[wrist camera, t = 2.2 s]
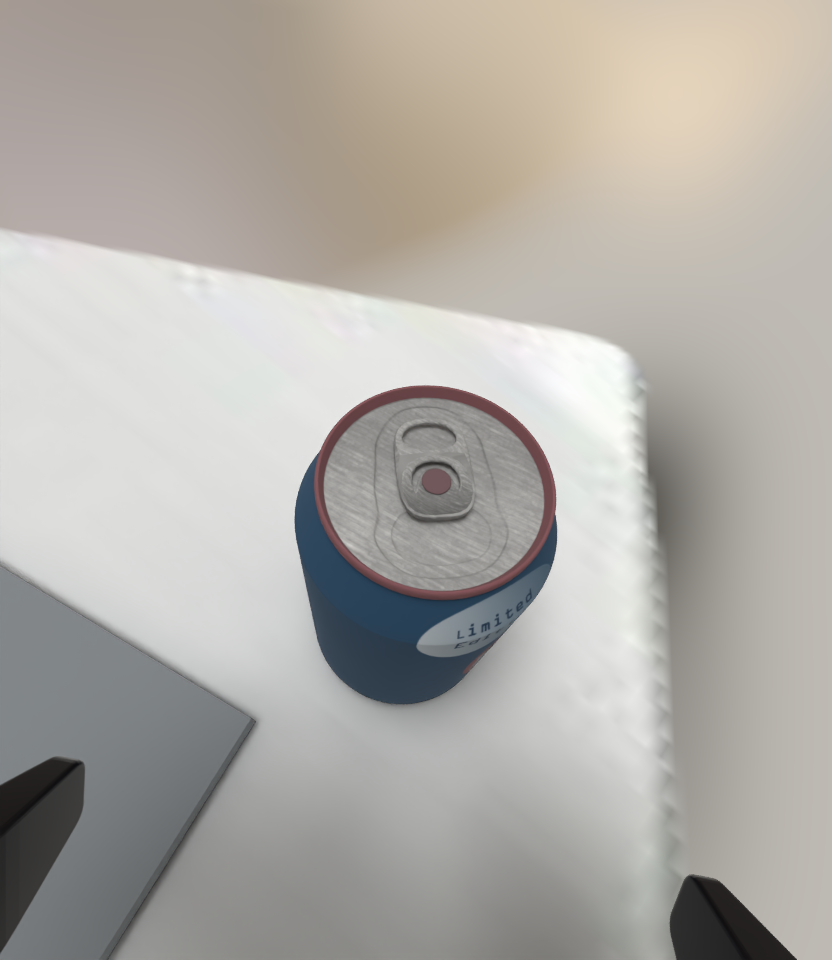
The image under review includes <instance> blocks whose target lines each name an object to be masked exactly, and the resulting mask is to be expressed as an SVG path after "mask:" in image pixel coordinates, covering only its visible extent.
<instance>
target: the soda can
mask: <svg viewBox="0 0 832 960" xmlns="http://www.w3.org/2000/svg"><path fill="white" fill-rule="evenodd" d="M555 510H556V489H555V483H554V478H553V475H552V471H551V468H550V465H549V463H548V461H547V458H546V456H545V454H544V452H543V450H542V449H541V447H540V446H539V444H538V442H537V441H536V440H535V438H534V437H533V436H532V434H531V433H530V432H529V431H528V430H527V429H526V428H525V427H524V425H523V424H521V423H520V422H519V421H518V420H517V419H516V418H515V417H514V416H512V415H511V414H510V413H508V412H507V411H506V410H504V409H503V408H501V407H499V406H498V405H496V404H494V403H493V402H491V401H489V400H487V399H485V398H482V397H480V396H478V395H475V394H472V393H469V392H466V391H463V390H459V389H454V388H449V387H442V386H410V387H403V388H397V389H393V390H390V391H386V392H383V393H381V394H378V395H375V396H373V397H371V398H369V399H367V400H365V401H364V402H362V403H360V404H359V405H357V406H356V407H354V408H353V409H352V410H350V411H349V412H348V413H347V414H346V415H345V416H343V417H342V418H341V419H340V420H339V422H338V423H337V424H336V425H335V426H334V427H333V429H332V430H331V431H330V433H329V435H328V436H327V438H326V440H325V442H324V443H323V445H322V448H321V450H320V452H319V453H318V454H317V456H316V457H315V458H314V460H313V461H312V463H311V464H310V466H309V468H308V470H307V471H306V473H305V475H304V478H303V480H302V483H301V486H300V489H299V492H298V496H297V500H296V507H295V533H296V540H297V545H298V549H299V554H300V559H301V564H302V568H303V573H304V578H305V582H306V587H307V592H308V597H309V601H310V606H311V611H312V616H313V620H314V625H315V630H316V634H317V639H318V642H319V646H320V648H321V651H322V653H323V655H324V657H325V659H326V661H327V662H328V664H329V666H330V667H331V668H332V670H333V671H334V672H335V673H336V675H337V676H338V677H339V678H340V679H341V680H342V681H343V682H344V683H346V684H347V685H348V686H349V687H351V688H352V689H354V690H355V691H357V692H359V693H360V694H362V695H364V696H366V697H369V698H371V699H374V700H377V701H381V702H386V703H392V704H412V703H418V702H422V701H426V700H429V699H432V698H434V697H437V696H439V695H441V694H443V693H445V692H446V691H448V690H449V689H451V688H452V687H453V686H455V685H456V684H457V683H458V682H459V681H460V680H462V678H463V677H464V676H465V675H466V674H467V673H468V672H469V671H470V670H471V669H472V668H473V666H474V665H475V664H476V663H477V662H478V661H479V660H480V659H481V658H482V657H483V655H484V654H485V653H486V652H487V651H488V650H489V649H490V648H491V647H492V646H493V644H494V643H495V642H496V641H497V640H498V639H499V638H500V637H501V636H502V635H503V633H504V632H505V631H506V630H507V629H508V628H509V627H510V626H511V625H512V624H513V622H514V621H515V620H516V619H517V618H518V617H519V616H520V615H521V614H522V613H523V612H524V610H525V609H526V608H527V607H528V606H529V605H530V604H531V603H532V601H533V600H534V599H535V598H536V596H537V595H538V593H539V592H540V590H541V589H542V587H543V585H544V583H545V581H546V579H547V577H548V575H549V572H550V570H551V567H552V564H553V561H554V556H555V552H556V545H557V523H556V516H555Z"/></svg>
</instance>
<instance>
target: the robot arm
mask: <svg viewBox="0 0 832 960" xmlns="http://www.w3.org/2000/svg"><path fill="white" fill-rule="evenodd" d="M84 790H85V764H84V762H83V761H81V760H79V759H74V758H69V757H63V756H54V757H51V758H49V759H47V760H45V761H43V762H41V763H40V764H38V765H36V766H34V767H32V768H30V769H28V770H27V771H25V772H23V773H21V774H19V775H17V776H15V777H13V778H12V779H10V780H8V781H6V782H4V783H2V784H0V954H1V952H2V951H3V949H4V948H5V946H6V944H7V943H8V941H9V940H10V938H11V936H12V935H13V933H14V931H15V930H16V928H17V926H18V925H19V923H20V921H21V920H22V918H23V916H24V914H25V913H26V911H27V909H28V908H29V906H30V904H31V902H32V901H33V899H34V897H35V896H36V894H37V892H38V890H39V889H40V887H41V885H42V884H43V882H44V880H45V878H46V877H47V875H48V873H49V871H50V870H51V868H52V866H53V865H54V863H55V861H56V859H57V858H58V856H59V854H60V853H61V851H62V849H63V847H64V846H65V844H66V842H67V841H68V839H69V837H70V835H71V834H72V832H73V830H74V828H75V827H76V825H77V823H78V821H79V819H80V817H81V814H82V811H83V806H84ZM670 933H671V938H672V942H673V947H674V951H675V955H676V959H677V960H797V959H796V958H795V957H794V956H793V955H792V954H791V953H790V952H789V951H788V950H787V949H786V948H785V947H784V946H783V945H782V944H781V943H780V942H779V941H778V940H777V939H776V938H775V937H774V936H773V935H772V934H771V933H770V932H769V931H768V930H767V929H766V928H765V927H764V926H763V925H762V923H760V922H759V921H758V920H757V918H756V917H755V916H754V915H753V914H752V913H751V912H750V911H749V910H748V909H747V908H746V907H745V906H744V905H743V904H742V903H741V902H740V901H739V900H738V899H737V898H736V897H735V896H734V895H733V894H732V893H731V892H730V891H729V890H728V889H727V888H726V887H725V886H724V885H723V884H722V883H721V882H719V881H718V880H716V879H714V878H709V877H704V876H699V875H694V874H691V875H688V876H687V877H686V878H685V879H684V881H683V884H682V886H681V889H680V891H679V894H678V897H677V899H676V902H675V904H674V907H673V909H672V912H671V916H670Z"/></svg>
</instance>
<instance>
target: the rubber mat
mask: <svg viewBox="0 0 832 960" xmlns="http://www.w3.org/2000/svg"><path fill="white" fill-rule="evenodd" d="M255 722H256V721H254V720H253V719H252V718H250V717H249V716H247V715H245V714H244V713H242V712H240V711H239V710H237V709H235V708H234V707H232V706H230V705H229V704H227V703H225V702H224V701H222V700H220V699H219V698H217V697H216V696H214V695H212V694H211V693H209V692H207V691H206V690H204V689H202V688H201V687H199V686H197V685H196V684H194V683H192V682H191V681H189V680H188V679H186V678H184V677H183V676H181V675H179V674H178V673H176V672H174V671H173V670H171V669H169V668H168V667H166V666H164V665H163V664H161V663H159V662H158V661H156V660H155V659H153V658H151V657H150V656H148V655H146V654H145V653H143V652H141V651H140V650H138V649H136V648H135V647H133V646H131V645H130V644H128V643H127V642H125V641H123V640H122V639H120V638H118V637H117V636H115V635H113V634H112V633H110V632H108V631H107V630H105V629H103V628H102V627H100V626H99V625H97V624H95V623H94V622H92V621H90V620H89V619H87V618H85V617H84V616H82V615H80V614H79V613H77V612H75V611H74V610H72V609H70V608H69V607H67V606H66V605H64V604H62V603H61V602H59V601H57V600H56V599H54V598H52V597H51V596H49V595H47V594H46V593H44V592H42V591H41V590H39V589H38V588H36V587H34V586H33V585H31V584H29V583H28V582H26V581H24V580H23V579H21V578H19V577H18V576H16V575H14V574H13V573H11V572H9V571H8V570H6V569H5V568H3V567H1V566H0V784H2V783H4V782H6V781H8V780H10V779H12V778H13V777H15V776H17V775H19V774H21V773H23V772H25V771H27V770H28V769H30V768H32V767H34V766H36V765H38V764H40V763H41V762H43V761H45V760H47V759H49V758H51V757H54V756H63V757H69V758H74V759H79V760H81V761H83V762H84V764H85V790H84V806H83V811H82V814H81V817H80V819H79V821H78V823H77V825H76V827H75V828H74V830H73V832H72V834H71V835H70V837H69V839H68V841H67V842H66V844H65V846H64V847H63V849H62V851H61V853H60V854H59V856H58V858H57V859H56V861H55V863H54V865H53V866H52V868H51V870H50V871H49V873H48V875H47V877H46V878H45V880H44V882H43V884H42V885H41V887H40V889H39V890H38V892H37V894H36V896H35V897H34V899H33V901H32V902H31V904H30V906H29V908H28V909H27V911H26V913H25V914H24V916H23V918H22V920H21V921H20V923H19V925H18V926H17V928H16V930H15V931H14V933H13V935H12V936H11V938H10V940H9V941H8V943H7V944H6V946H5V948H4V949H3V951H2V952H1V954H0V960H107V959H108V957H109V955H110V954H111V952H112V951H113V949H114V947H115V946H116V944H117V943H118V941H119V939H120V938H121V936H122V935H123V933H124V931H125V930H126V928H127V927H128V925H129V923H130V922H131V920H132V919H133V917H134V915H135V914H136V912H137V911H138V909H139V907H140V906H141V904H142V903H143V901H144V899H145V898H146V896H147V895H148V893H149V891H150V890H151V888H152V887H153V885H154V883H155V882H156V880H157V879H158V877H159V875H160V874H161V872H162V871H163V869H164V867H165V866H166V864H167V863H168V861H169V859H170V858H171V856H172V855H173V853H174V851H175V850H176V848H177V847H178V845H179V843H180V842H181V840H182V839H183V837H184V835H185V834H186V832H187V831H188V829H189V827H190V826H191V824H192V823H193V821H194V819H195V818H196V816H197V815H198V813H199V811H200V810H201V808H202V807H203V805H204V803H205V802H206V800H207V799H208V797H209V795H210V794H211V792H212V791H213V789H214V787H215V786H216V784H217V783H218V781H219V779H220V778H221V776H222V775H223V773H224V771H225V770H226V768H227V766H228V765H229V763H230V762H231V760H232V758H233V757H234V755H235V754H236V752H237V750H238V749H239V747H240V746H241V744H242V742H243V741H244V739H245V738H246V736H247V734H248V733H249V731H250V730H251V728H252V726H253V725H254V723H255Z"/></svg>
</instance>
